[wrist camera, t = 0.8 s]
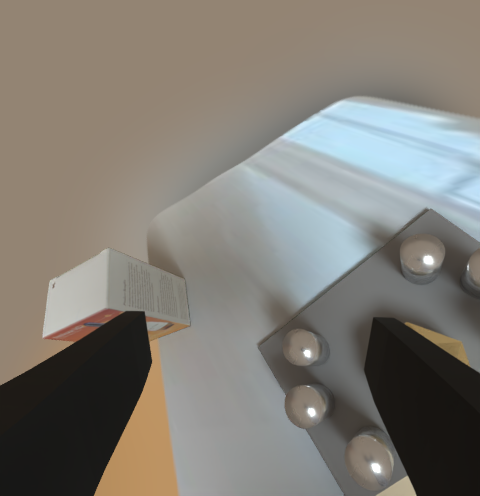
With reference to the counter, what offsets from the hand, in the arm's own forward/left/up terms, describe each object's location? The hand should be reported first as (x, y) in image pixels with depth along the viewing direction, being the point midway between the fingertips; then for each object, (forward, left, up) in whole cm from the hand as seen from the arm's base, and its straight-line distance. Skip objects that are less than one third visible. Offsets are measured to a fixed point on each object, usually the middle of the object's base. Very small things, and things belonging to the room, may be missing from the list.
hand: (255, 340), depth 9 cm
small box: (+15, +14, -16) cm, 26 cm away
